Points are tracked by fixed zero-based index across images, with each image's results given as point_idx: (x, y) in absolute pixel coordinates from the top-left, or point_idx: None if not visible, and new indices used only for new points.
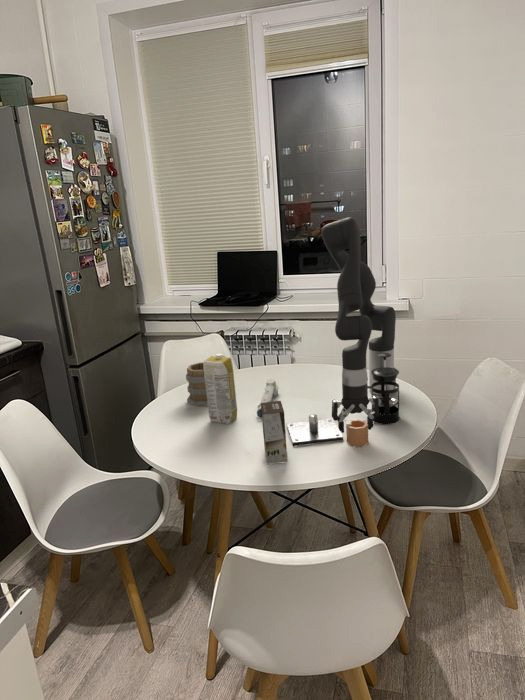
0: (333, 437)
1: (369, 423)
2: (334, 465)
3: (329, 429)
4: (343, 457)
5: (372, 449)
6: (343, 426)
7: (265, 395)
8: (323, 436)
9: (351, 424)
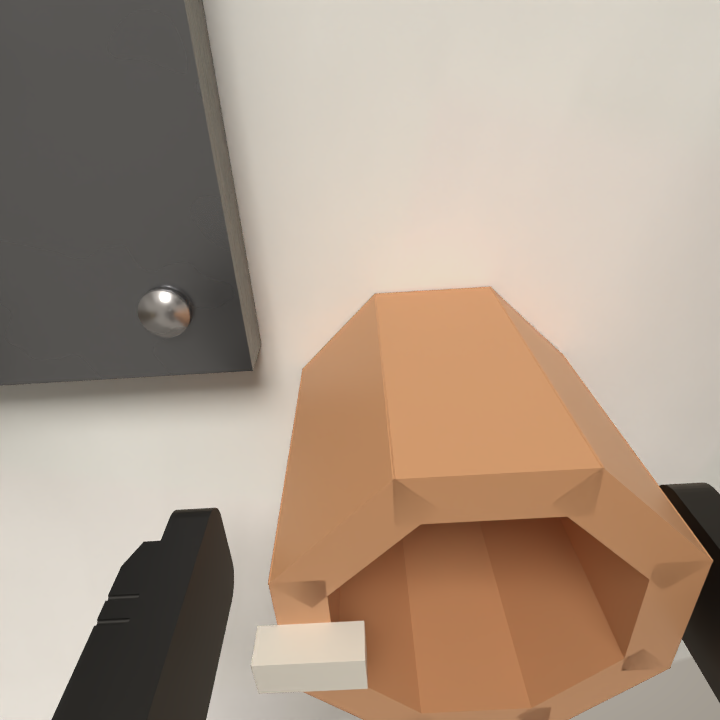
0: (109, 370)
1: (710, 682)
2: None
3: (1, 51)
4: (232, 627)
5: None
6: (200, 702)
7: None
8: None
9: (366, 660)
